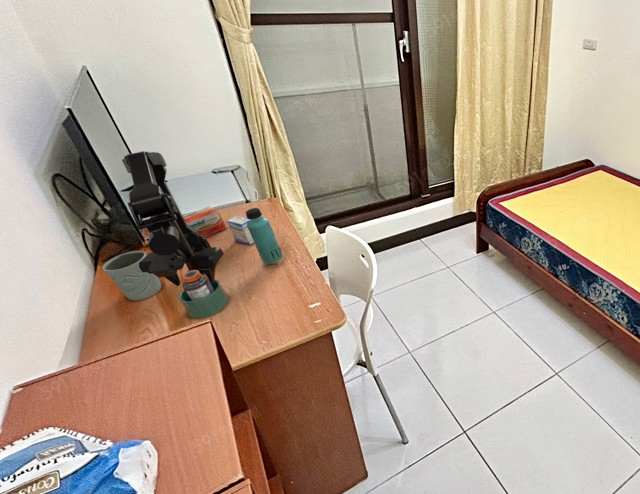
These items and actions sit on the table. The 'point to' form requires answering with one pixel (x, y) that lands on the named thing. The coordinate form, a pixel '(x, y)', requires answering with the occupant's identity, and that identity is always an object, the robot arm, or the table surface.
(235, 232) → the medicine box
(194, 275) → the pill bottle
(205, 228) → the medicine box
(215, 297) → the green bowl
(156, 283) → the grey green planter pot
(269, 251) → the beverage bottle
